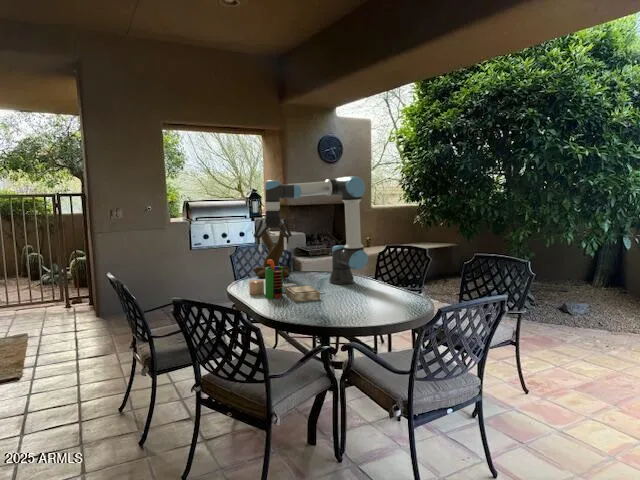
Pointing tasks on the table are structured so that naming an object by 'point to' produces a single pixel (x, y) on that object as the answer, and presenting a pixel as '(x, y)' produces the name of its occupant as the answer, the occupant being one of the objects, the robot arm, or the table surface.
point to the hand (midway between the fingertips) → (272, 250)
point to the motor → (273, 281)
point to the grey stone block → (288, 286)
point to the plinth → (302, 293)
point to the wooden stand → (273, 254)
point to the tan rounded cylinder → (256, 287)
